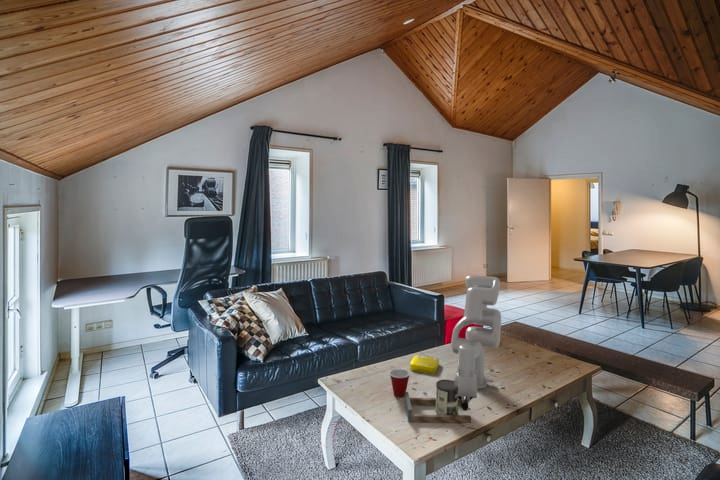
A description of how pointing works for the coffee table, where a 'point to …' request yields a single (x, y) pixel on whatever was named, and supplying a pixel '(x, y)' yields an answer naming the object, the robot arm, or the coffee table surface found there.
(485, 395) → the coffee table surface
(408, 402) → the frame
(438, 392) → the coffee can
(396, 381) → the plastic cup
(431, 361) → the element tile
